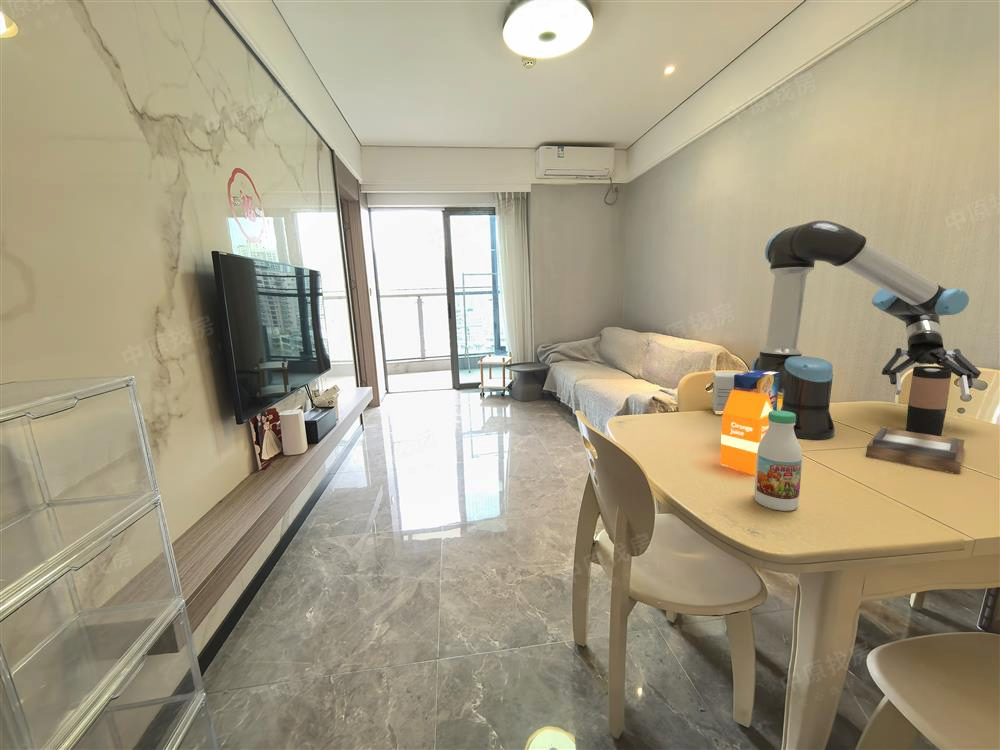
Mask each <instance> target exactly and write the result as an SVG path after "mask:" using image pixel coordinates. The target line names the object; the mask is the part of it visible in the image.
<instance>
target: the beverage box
mask: <svg viewBox="0 0 1000 750" xmlns="http://www.w3.org/2000/svg"><path fill="white" fill-rule="evenodd" d="M738 373H739V374H736V375H734V390H739V391H746V392H753V393H760V394H767V395H769V399H770V402H771V405H772V408H773V411H775V410H778V398H779V397H778V396H779V395H778V394H779V392H778V384H779V372H772V371H761V370H751V369H750V370H748V371H744V372H738Z"/></svg>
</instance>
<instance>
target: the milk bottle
mask: <svg viewBox="0 0 1000 750" xmlns="http://www.w3.org/2000/svg"><path fill="white" fill-rule="evenodd" d="M795 421H796V415H795V414H794V413H792V412H788V411H780V410H778V409H777V410H775V411H770V412H769V413H768V422H769V427H768V429H767V431H766V433H765V435H764V436H763V438H762V439H761V441H760V443H759V446H758V450H757V460H756V474H755V476H754V490H753V491H754V492H753V494H754V495H753V497H754V499H755V501H756V503H758V504H760V505H762V506H763V507H765V508H768V509H771V510H775V511H781V512H791V511H794V510H796V509H797V508H798V507H799V502H800V491H801V481H802V480H801V477H802V465H803V464H802V463H803V453H802V448H801V445H800V442H799V441H798V437H796V436H795V433H794V425H795Z"/></svg>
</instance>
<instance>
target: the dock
mask: <svg viewBox="0 0 1000 750" xmlns="http://www.w3.org/2000/svg"><path fill="white" fill-rule="evenodd" d="M965 440H966V439H962V438H961V439H959V438H956V437H947V436H942V435H941V436H935V435H928V434H921V433H914V432H908V431H906V430H900V429H893V428H887V427H880V426H879V429H878V430H877V431H876V433H875V434H874V435H873V437H872V438H871V440H870V441H869V443H868V444H867V446H866V454H865V456H866V457H869V458H874V459H880V460H884V461H891V462H895V463H900V464H905V465H909V464H910V465H911V466H915V465H917V466H916V467H920V466H923V467H922V468H925V467H927V468H926V469H930V468H932V469H931V470H935V469H937V471H940V470H942V472H946V471H948V472H947V473H951V472H953V473H952V474H956V473H958V474H957V475H960V470H961V464H962V459H963V452H964V447H965V446H964V445H965Z"/></svg>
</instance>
